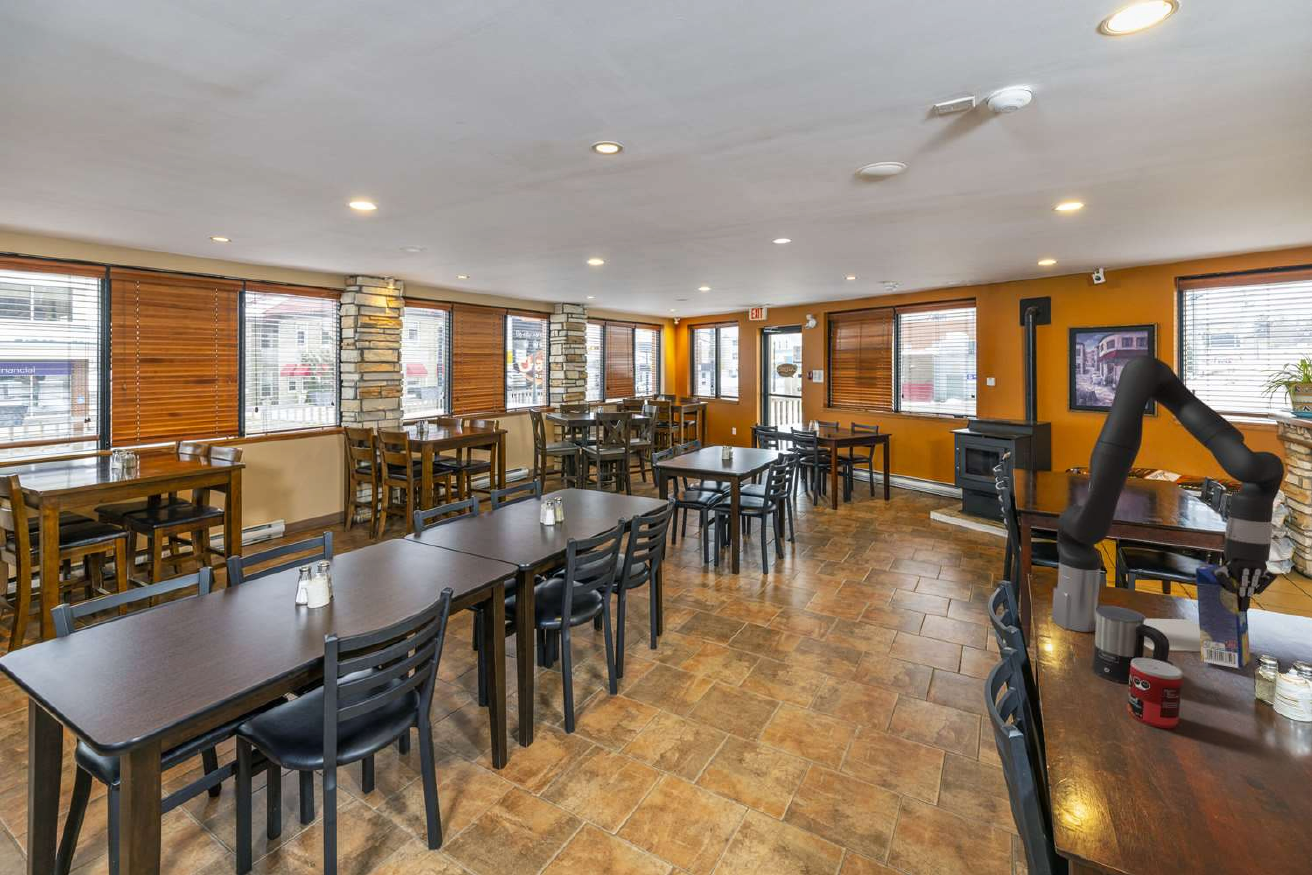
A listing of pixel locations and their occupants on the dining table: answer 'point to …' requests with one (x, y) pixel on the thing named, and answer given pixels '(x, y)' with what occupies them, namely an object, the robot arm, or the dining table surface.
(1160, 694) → the canned food
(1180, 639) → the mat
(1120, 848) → the dining table surface
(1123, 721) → the dining table surface
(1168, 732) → the dining table surface
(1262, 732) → the dining table surface
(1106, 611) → the milk frother
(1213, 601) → the beverage box
